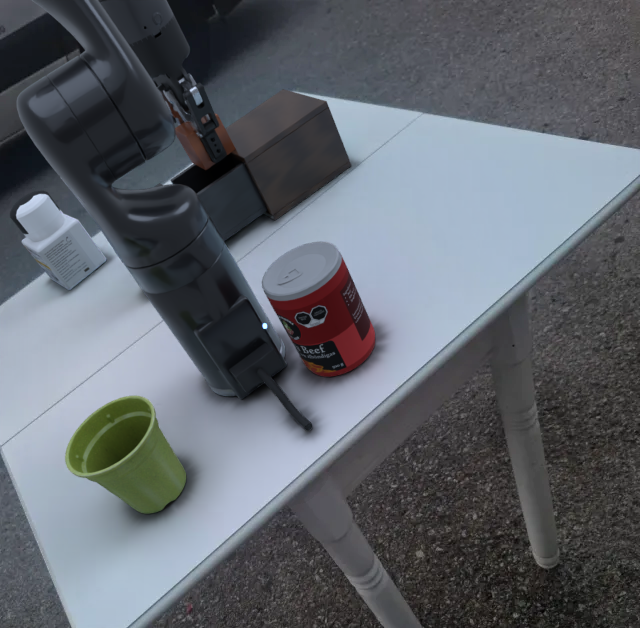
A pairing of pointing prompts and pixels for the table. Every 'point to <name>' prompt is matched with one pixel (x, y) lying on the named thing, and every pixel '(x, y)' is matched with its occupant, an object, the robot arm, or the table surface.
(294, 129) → the cabinet
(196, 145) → the block
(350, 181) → the table surface
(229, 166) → the drawer
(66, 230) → the container
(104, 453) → the plant pot
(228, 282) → the robot arm
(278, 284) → the canned food
